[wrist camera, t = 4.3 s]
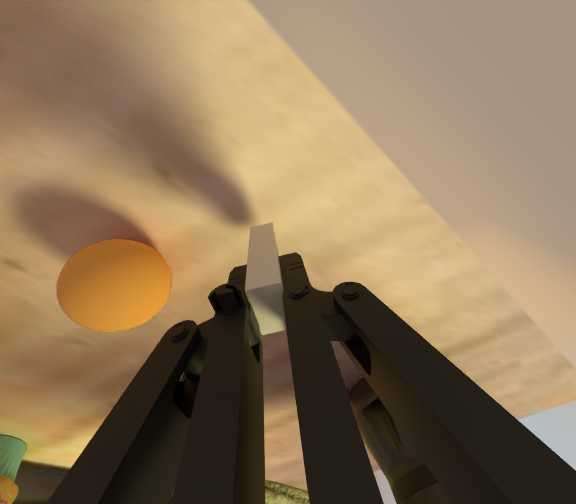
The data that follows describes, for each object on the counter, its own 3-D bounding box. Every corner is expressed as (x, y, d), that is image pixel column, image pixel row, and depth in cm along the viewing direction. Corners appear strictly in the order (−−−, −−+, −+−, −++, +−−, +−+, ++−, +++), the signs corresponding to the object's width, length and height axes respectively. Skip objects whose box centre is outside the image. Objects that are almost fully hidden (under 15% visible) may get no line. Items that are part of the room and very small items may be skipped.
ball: (160, 216, 16) (113, 258, 11) (194, 282, 19) (169, 340, 14) (79, 236, 16) (-8, 287, 11) (125, 298, 19) (74, 362, 14)
